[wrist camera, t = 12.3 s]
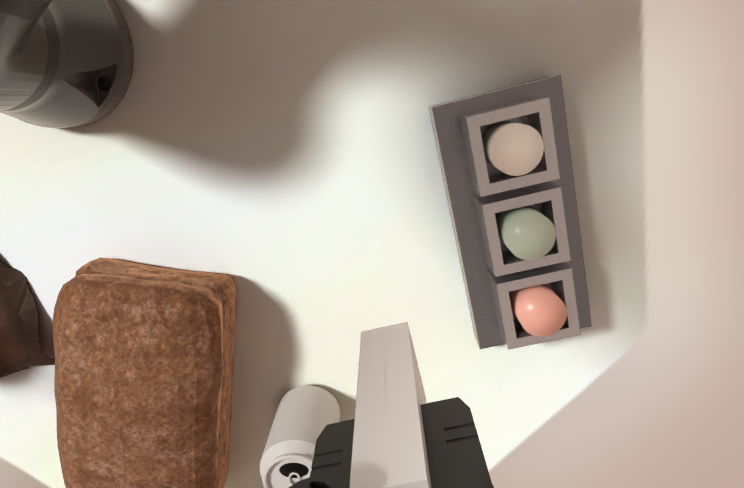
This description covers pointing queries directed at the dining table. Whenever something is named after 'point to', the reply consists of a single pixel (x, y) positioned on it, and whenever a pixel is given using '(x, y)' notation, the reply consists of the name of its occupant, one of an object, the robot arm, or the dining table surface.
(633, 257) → the dining table surface
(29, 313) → the potted plant
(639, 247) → the dining table surface
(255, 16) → the dining table surface
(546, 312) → the button coral
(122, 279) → the bread
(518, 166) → the button ivory
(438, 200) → the dining table surface
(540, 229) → the button sage
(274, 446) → the can
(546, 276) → the console
